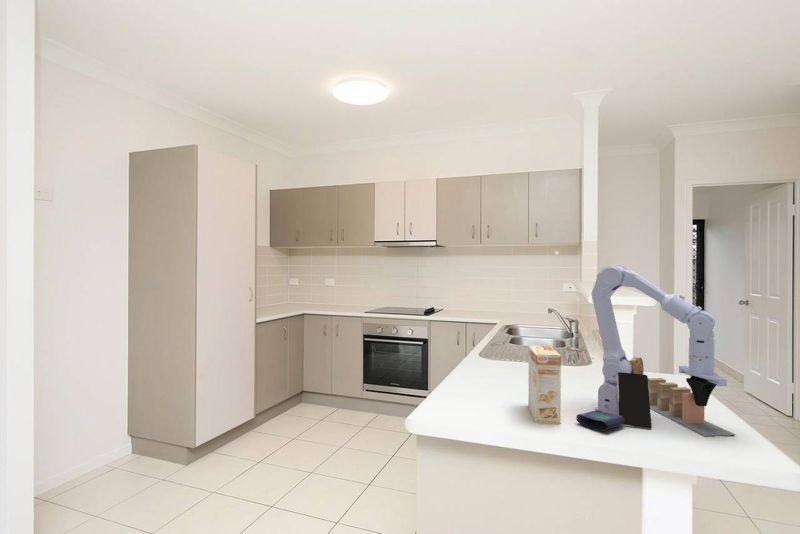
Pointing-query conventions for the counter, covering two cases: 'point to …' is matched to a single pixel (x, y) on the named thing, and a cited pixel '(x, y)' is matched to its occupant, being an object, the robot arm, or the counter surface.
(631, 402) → the smartphone
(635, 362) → the tin
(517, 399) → the counter surface
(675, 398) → the domino
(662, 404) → the domino
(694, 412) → the domino
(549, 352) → the coffeecake box
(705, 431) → the mat
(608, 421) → the navy pouch
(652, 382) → the domino
